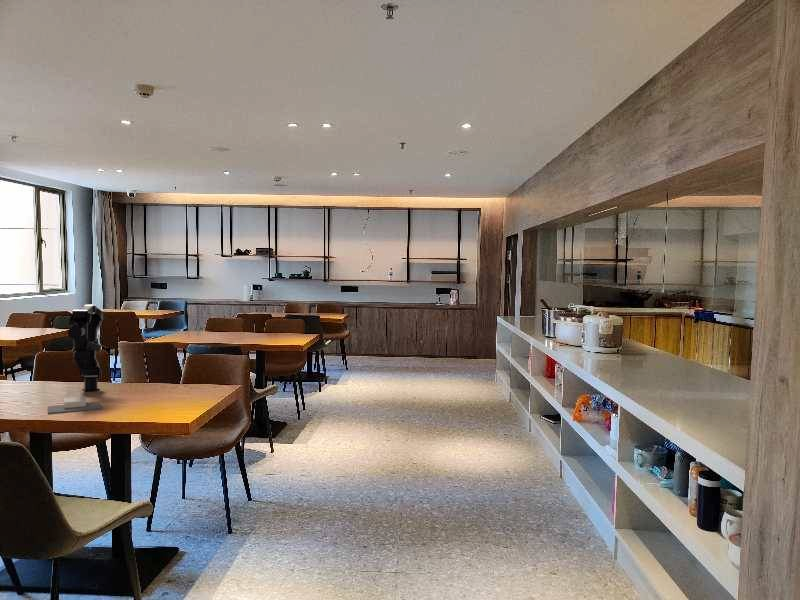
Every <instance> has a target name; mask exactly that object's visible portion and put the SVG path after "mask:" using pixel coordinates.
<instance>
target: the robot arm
mask: <svg viewBox="0 0 800 600" xmlns="http://www.w3.org/2000/svg"><path fill="white" fill-rule="evenodd" d="M103 321H104V314H103V311H102V310H101V309H100V308H99V307H97V305H96V304H91V303H90V304H84V305H83V306H82V308H80V309H73V310H72V311H71V312H70V317H69V320H68V322H69V323H68V326H71V327H69V328H68V330H67V336H68V337H69V338H71V339H72V340H73V347H72V349H71V350H72V354H73V355H72V356H73V359H74V361H75V363H76V365H77V367H78V369H79V376H80V379H84V381H83V382H84V388H82V389H81V390H82V391H84V392H93V391H100V388H99V387H98V379H102V378H103V374H102V369H101V367H100V363H99V361H98V360H97V353H99V352H100V350H101V349H102V344H100V343H99V342H98V331H99V329H100V328H101V327H102V322H103Z"/></svg>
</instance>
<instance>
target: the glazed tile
mask: <svg viewBox="0 0 800 600" xmlns="http://www.w3.org/2000/svg"><path fill="white" fill-rule="evenodd" d="M86 403H87V401H86V396H72V397H64V398H63V405H64V408H65V409H67V408H78V407H85V406H86Z"/></svg>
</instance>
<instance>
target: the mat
mask: <svg viewBox="0 0 800 600" xmlns="http://www.w3.org/2000/svg"><path fill="white" fill-rule="evenodd" d="M94 410H103V406H102V403H101V401H92V402H86V406H85V407H78V408H67V409H65V408H64V404H58V405H48V406H47V415H53V414H65V413H75V412H84V411H85V412H86V411H94Z"/></svg>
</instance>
